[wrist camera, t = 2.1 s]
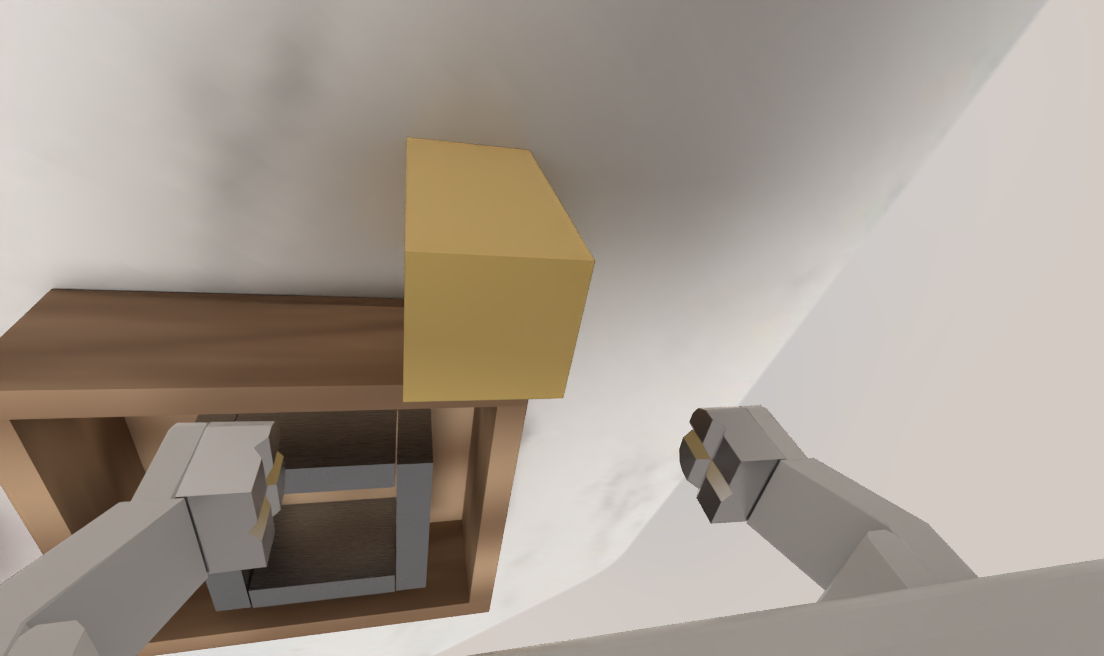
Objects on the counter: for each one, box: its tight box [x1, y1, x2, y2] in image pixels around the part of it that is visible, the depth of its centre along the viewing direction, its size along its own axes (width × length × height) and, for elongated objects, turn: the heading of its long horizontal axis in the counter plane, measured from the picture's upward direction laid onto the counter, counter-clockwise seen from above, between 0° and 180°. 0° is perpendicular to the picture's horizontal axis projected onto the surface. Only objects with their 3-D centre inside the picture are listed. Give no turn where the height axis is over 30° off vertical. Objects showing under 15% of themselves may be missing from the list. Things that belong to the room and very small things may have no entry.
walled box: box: [0, 289, 528, 656], centre depth 21 cm, size 14×15×5 cm
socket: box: [194, 408, 433, 611], centre depth 22 cm, size 8×8×4 cm
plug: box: [403, 137, 595, 402], centre depth 15 cm, size 4×4×8 cm
